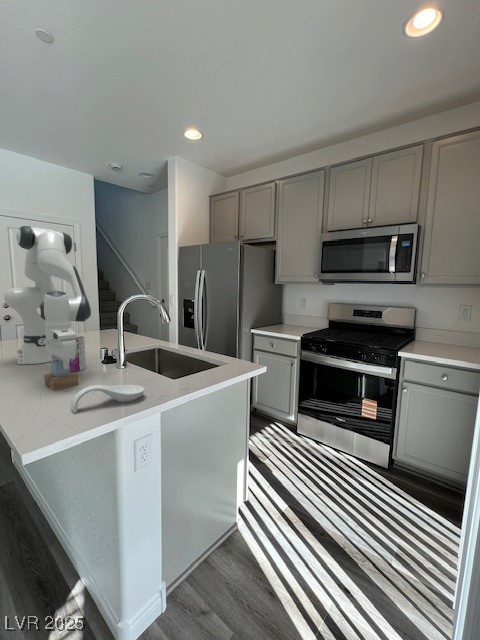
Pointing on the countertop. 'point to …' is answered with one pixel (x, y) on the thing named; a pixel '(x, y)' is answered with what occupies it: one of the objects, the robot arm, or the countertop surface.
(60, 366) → the slate blue cube
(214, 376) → the countertop surface
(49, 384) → the walnut block
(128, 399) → the spoon rest
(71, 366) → the candy bar box
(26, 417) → the countertop surface
